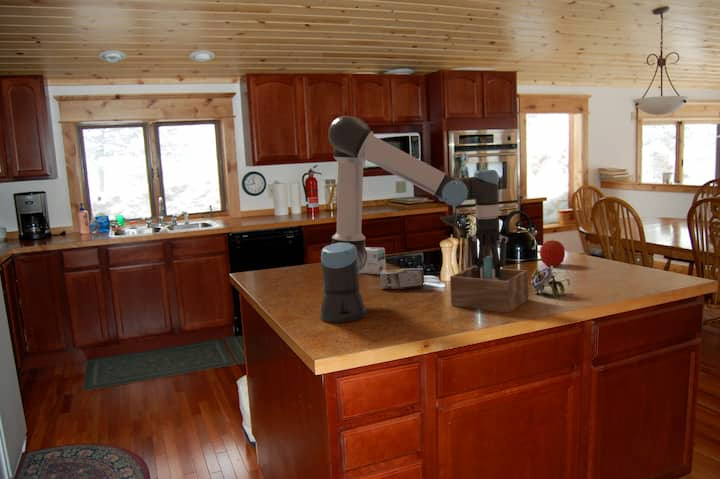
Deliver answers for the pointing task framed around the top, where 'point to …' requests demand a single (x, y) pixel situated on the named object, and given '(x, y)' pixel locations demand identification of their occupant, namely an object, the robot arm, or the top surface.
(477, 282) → the crate
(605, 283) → the top surface
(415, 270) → the coffee box
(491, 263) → the peg
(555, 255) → the red round piece
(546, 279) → the passion flower
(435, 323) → the top surface
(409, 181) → the robot arm
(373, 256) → the light bulb box
